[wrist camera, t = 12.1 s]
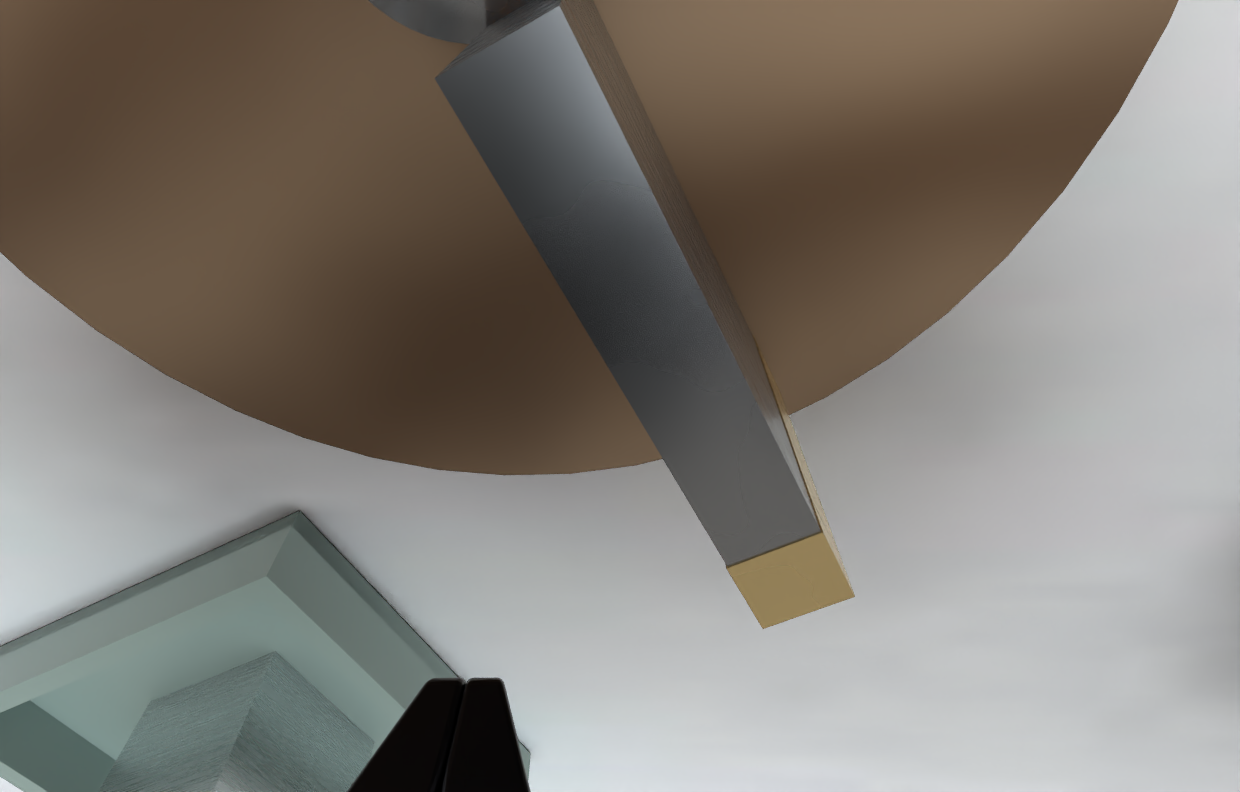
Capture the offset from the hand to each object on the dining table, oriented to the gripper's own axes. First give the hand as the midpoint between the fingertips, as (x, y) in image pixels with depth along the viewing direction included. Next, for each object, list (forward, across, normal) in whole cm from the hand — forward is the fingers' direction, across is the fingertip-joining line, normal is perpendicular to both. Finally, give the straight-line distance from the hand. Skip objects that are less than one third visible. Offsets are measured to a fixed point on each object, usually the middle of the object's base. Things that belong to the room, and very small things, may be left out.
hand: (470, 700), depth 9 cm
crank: (+6, -2, -5) cm, 8 cm away
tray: (+8, +7, +10) cm, 15 cm away
